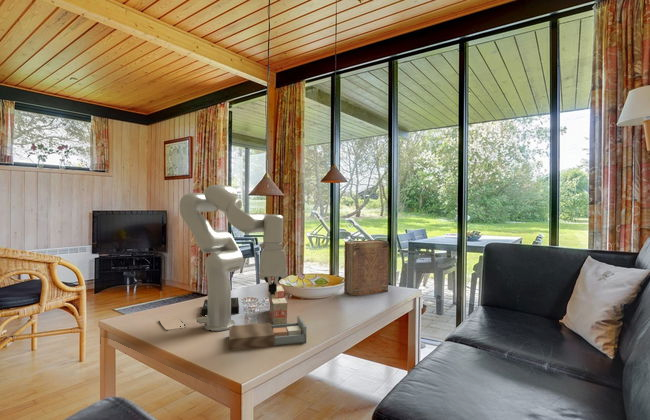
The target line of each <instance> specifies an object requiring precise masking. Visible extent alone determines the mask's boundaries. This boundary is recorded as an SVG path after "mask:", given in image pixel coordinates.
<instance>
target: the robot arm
mask: <svg viewBox="0 0 650 420" xmlns="http://www.w3.org/2000/svg"><path fill="white" fill-rule="evenodd" d="M242 205H243V201H242V199H241V198H240V197H239V196H238V192H237V190H236V189H235V188H234V187H233V186H231V185H226V184H212V185H209V186H207V187H205V190H204V192H189V193H186V194H184V195H183V196H182V197H181V198H180V200H179V213H180V216H181V219H182V220H183V221H184V223H185V225H186V226H187V227H188V228H189V230H190V232H191V235H192V237H193V239H194V240H195V242H196V244H197V247H198V248H199V250H200V251H201V252H202V253H204V254H209V255H208V256H207V257H206V258H205V260H204V268H205V272H206V280H207V282H206V284H207V285H206V286H207V299H208V315H207V316H204V317H197V318H196V323H197V324H199V325H200V324H203V328H204V330H207V331H209V330H211V332H220V331H221V332H222V331H227V330H229V326H236V324H235V321H234V320H233V319H232V314H231V298H232V283H231V280H230V278H229V276H228V274H229V273H233V272H236V271H240V270H242V268H243V266H244V264H245V263H244V262H245V261H244V260H245V259H244V255H243V253H242V251H241V249H240V248H239V246H238V244H237V242H236V240H235V238H234V236H233V235H232V234H231V232H229V231H227V230H225V229H217V230H216V229H214V228H213V227H212V225H211V224H210V221H209V220H208V219H207V218H206V217H205V216H204V215H203V214H201V213H207V212H208V213H209V212H216V211H219V210H220V211H221V212H222V213H224V214H225V215H226V219H227V221H228V223H229V224H230V225H231V226H232V227H234V228H236V230H238V231H240V232H242V233H245V234H255V233H263V240H262V241H263V242H262V243H259V248H262V249H261V251H260V257H259V273H258V274H259V275H258V279H259V280H261V281H262V280H263V281H265V282H266V283H267V284H268V285H267V286H268V287H267V288H268V293H269V292H270V294H271V295H272V294H273V295H275V292H277V286H278V285H277V284H278V283H279V282H280V281H282V280H285V279H286V278H287V271H288V270H287V269H288V268H287V267H288V266H287V255H286V250H285V249H284V216H283V215H281V214H268V213H263V212H262V213H261V212H260V213H258V212H256V213H255V212H253V213H247V212H245V211H243V210H242ZM210 253H211V254H210ZM272 278H273V281H272Z"/></svg>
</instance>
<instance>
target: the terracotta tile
mask: <svg viewBox="0 0 650 420" xmlns="http://www.w3.org/2000/svg"><path fill="white" fill-rule="evenodd" d="M273 332H274V341H275V337H279V336H287V330H286V327H284V328H273Z"/></svg>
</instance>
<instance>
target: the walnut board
mask: <svg viewBox="0 0 650 420" xmlns="http://www.w3.org/2000/svg"><path fill="white" fill-rule="evenodd" d="M271 325H272V323H271V322H263V323H251V324H240V325H234V326H229V329H228V331H229V333H228V336H229V338H228V339H229V340H228V343H229V347H228V348H229V350H228V351H236V350H237V351H239V350H246V349H247V350H248V349H256V348H267V347H275V344H274V332H273V330H272V327H271Z"/></svg>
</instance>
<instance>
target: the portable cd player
mask: <svg viewBox="0 0 650 420" xmlns="http://www.w3.org/2000/svg"><path fill="white" fill-rule="evenodd" d="M202 305H203V306H202V309H201V312H200V313H201V314H200V316H201V317H202V316H203V317H206V316H205V315H208V298H207V299H204V301H203V304H202ZM238 314H239V315H240V302H239V297H231V315H238Z"/></svg>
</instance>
